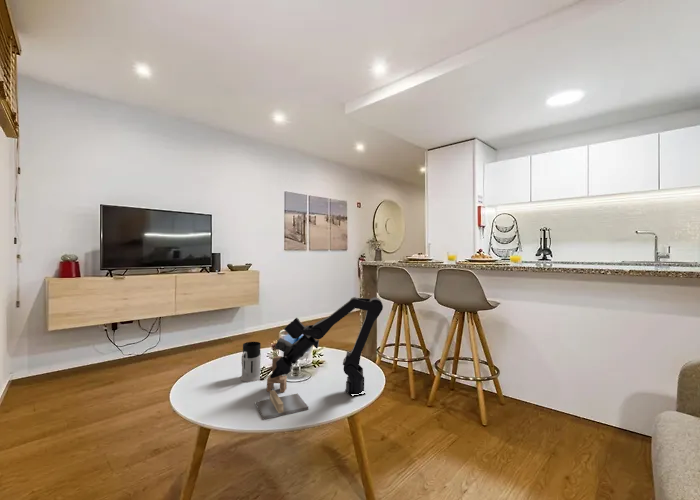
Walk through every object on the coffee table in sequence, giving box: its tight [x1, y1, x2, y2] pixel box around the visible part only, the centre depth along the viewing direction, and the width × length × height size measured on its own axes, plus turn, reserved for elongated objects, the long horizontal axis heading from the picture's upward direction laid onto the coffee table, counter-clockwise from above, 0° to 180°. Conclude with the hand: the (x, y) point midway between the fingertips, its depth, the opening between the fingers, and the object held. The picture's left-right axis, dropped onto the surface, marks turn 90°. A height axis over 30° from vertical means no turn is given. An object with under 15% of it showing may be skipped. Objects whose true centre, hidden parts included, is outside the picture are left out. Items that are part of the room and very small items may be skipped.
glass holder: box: [240, 341, 262, 383], centre depth 143 cm, size 9×14×15 cm, turn 174°
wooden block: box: [266, 355, 288, 393], centre depth 133 cm, size 7×4×13 cm, turn 88°
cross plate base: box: [255, 389, 309, 420], centre depth 119 cm, size 16×12×4 cm
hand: (273, 373), depth 133 cm, fingers open, 8 cm apart
